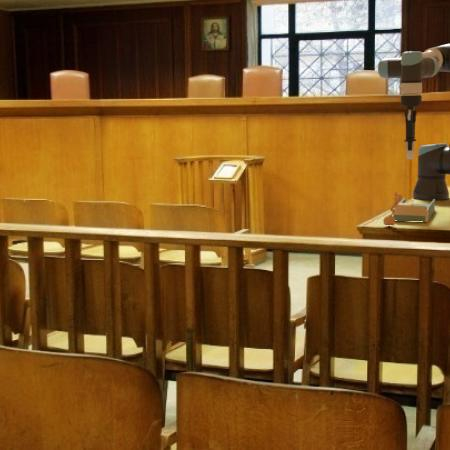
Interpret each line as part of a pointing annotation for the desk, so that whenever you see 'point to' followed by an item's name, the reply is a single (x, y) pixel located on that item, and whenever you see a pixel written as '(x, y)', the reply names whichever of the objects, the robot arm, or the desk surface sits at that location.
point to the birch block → (405, 204)
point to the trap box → (414, 211)
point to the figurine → (390, 219)
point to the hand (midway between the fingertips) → (409, 159)
